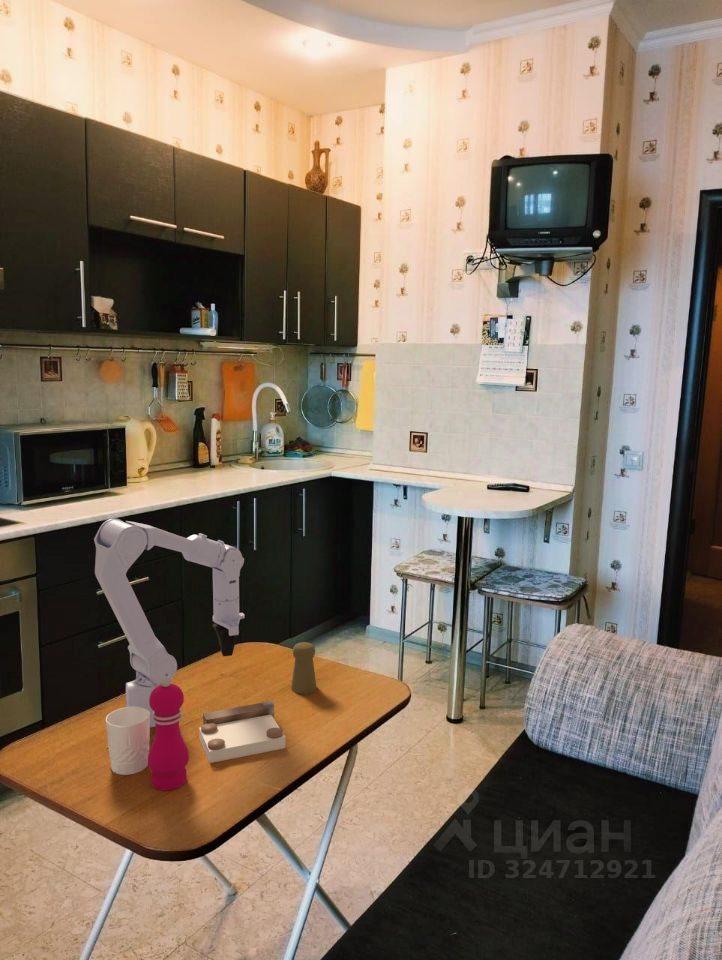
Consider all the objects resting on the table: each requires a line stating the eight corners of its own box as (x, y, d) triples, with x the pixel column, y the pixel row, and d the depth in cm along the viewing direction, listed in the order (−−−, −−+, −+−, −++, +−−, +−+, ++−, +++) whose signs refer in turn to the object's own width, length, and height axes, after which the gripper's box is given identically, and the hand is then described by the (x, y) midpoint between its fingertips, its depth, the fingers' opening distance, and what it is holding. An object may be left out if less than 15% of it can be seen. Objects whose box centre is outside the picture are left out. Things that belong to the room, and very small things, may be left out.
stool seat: (209, 763, 141) (209, 748, 141) (199, 739, 150) (199, 724, 150) (285, 748, 147) (285, 734, 146) (271, 725, 156) (271, 711, 156)
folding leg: (271, 716, 160) (271, 699, 159) (276, 722, 157) (275, 705, 156) (203, 729, 154) (202, 712, 153) (206, 736, 151) (206, 718, 150)
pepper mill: (196, 773, 138) (194, 671, 135) (176, 795, 131) (173, 688, 128) (161, 767, 140) (158, 666, 136) (140, 788, 133) (136, 683, 130)
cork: (315, 695, 170) (316, 649, 169) (289, 694, 171) (289, 649, 169) (317, 683, 176) (318, 639, 175) (292, 683, 176) (292, 639, 175)
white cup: (156, 770, 139) (154, 720, 137) (112, 781, 135) (110, 730, 133) (145, 750, 146) (144, 702, 144) (104, 761, 142) (101, 712, 140)
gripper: (252, 605, 162) (252, 664, 164) (235, 586, 175) (236, 641, 177) (219, 609, 159) (220, 669, 161) (205, 589, 172) (207, 645, 174)
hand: (227, 654), depth 169 cm, fingers closed
